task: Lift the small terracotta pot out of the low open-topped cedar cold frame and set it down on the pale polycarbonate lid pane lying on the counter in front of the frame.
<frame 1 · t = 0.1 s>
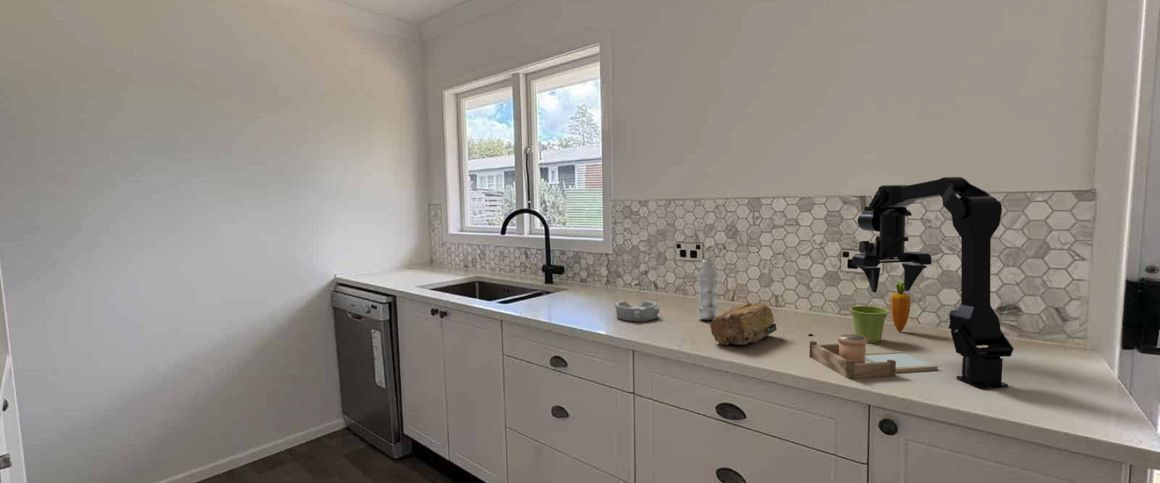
hand: (890, 291, 137), 15 cm above the worktop, fingers open, 9 cm apart
terracotta pot: (851, 365, 123), on the worktop
cold frame: (849, 365, 123), on the worktop
plant pot: (868, 340, 144), on the worktop
lid pane: (896, 362, 124), on the worktop
carrot: (899, 332, 151), on the worktop
dish: (637, 318, 177), on the worktop
petrified wood: (740, 340, 147), on the worktop
plastic bottle: (707, 320, 171), on the worktop
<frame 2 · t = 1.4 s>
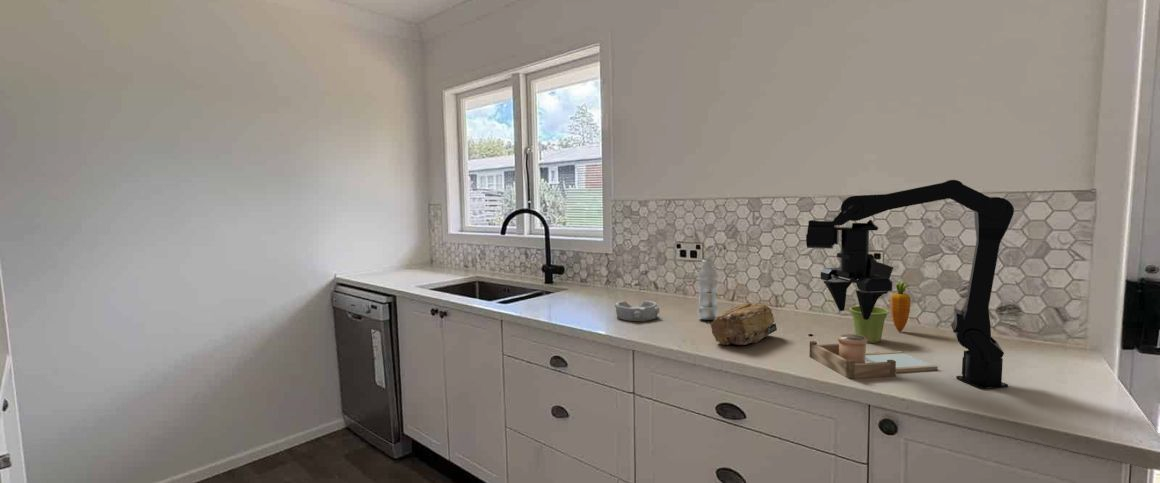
hand: (853, 314, 122), 12 cm above the worktop, fingers open, 9 cm apart
nothing on the worktop moved.
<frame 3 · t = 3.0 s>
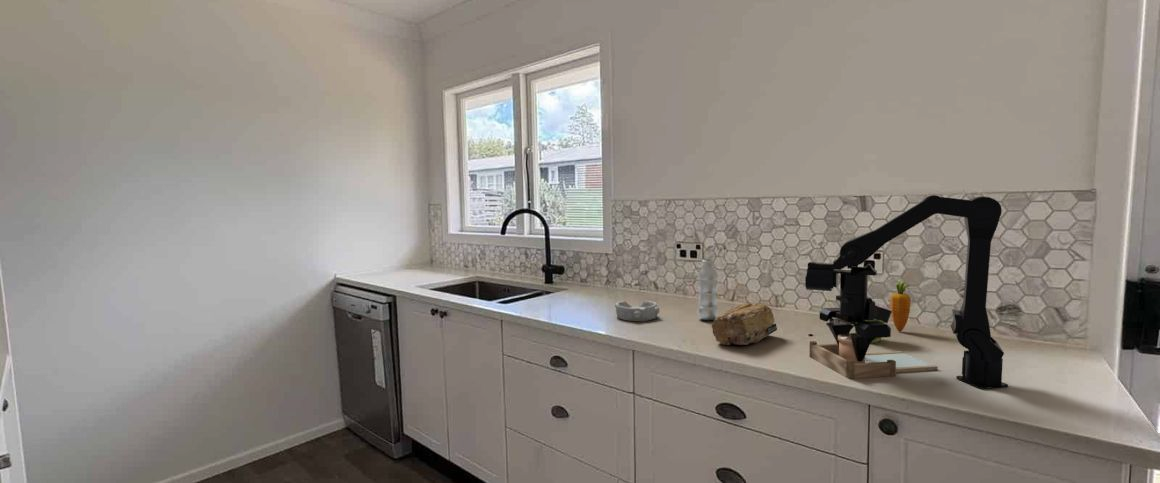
hand: (852, 357, 123), 2 cm above the worktop, fingers closed on terracotta pot, 6 cm apart
terracotta pot: (851, 365, 123), on the worktop, touching gripper
everything else where it was.
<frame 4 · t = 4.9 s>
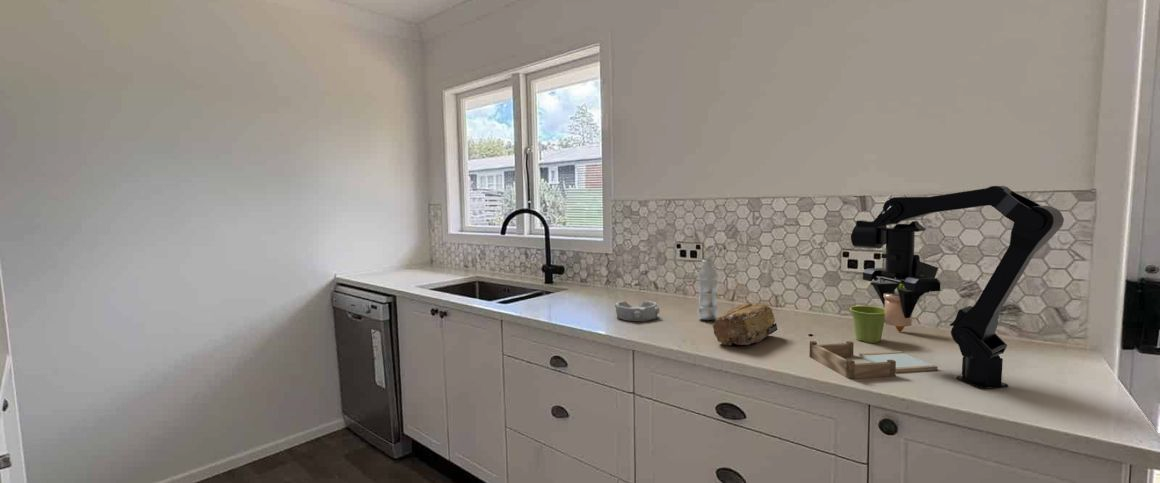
hand: (898, 315, 123), 12 cm above the worktop, fingers closed on terracotta pot, 6 cm apart
terracotta pot: (897, 323, 123), point 10 cm above the worktop, touching gripper
everything else where it was.
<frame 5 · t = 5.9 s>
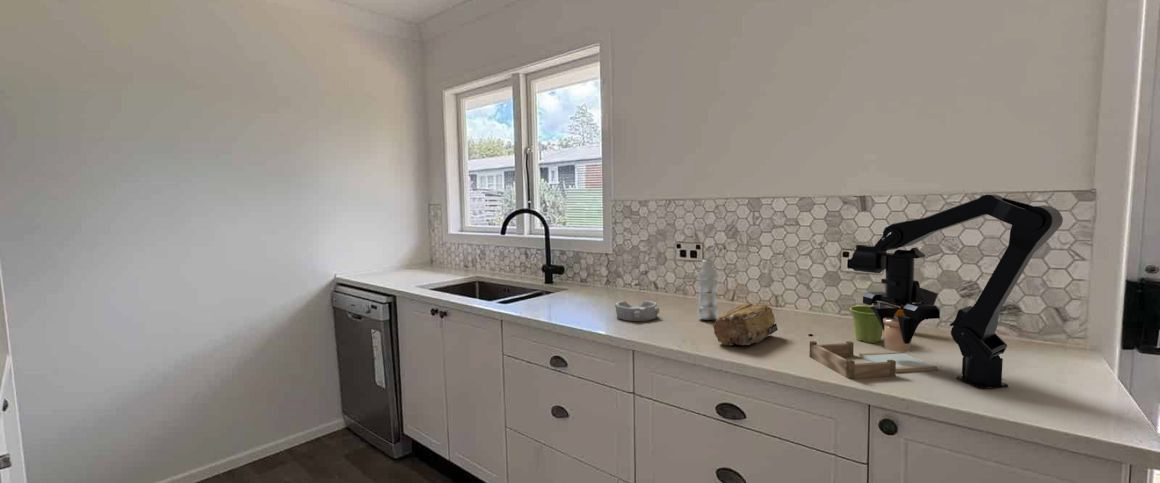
hand: (897, 340, 124), 6 cm above the worktop, fingers closed on terracotta pot, 6 cm apart
terracotta pot: (897, 348, 124), point 4 cm above the worktop, touching gripper
everything else where it was.
when the fingers open (3 cm above the worktop, at t = 6.8 s): terracotta pot stays where it is, resting on lid pane.
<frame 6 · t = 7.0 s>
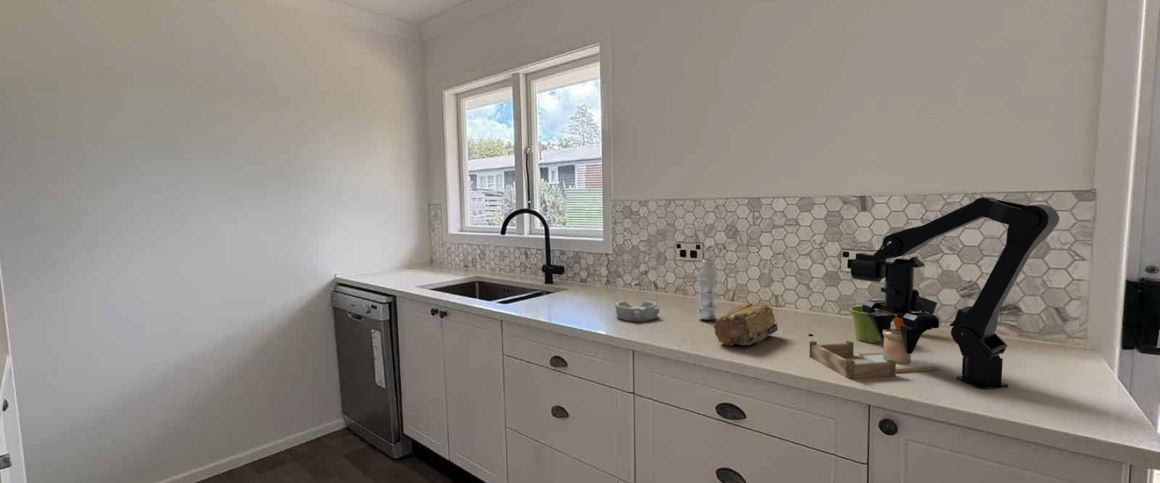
hand: (897, 348, 124), 3 cm above the worktop, fingers open, 8 cm apart
terracotta pot: (896, 360, 124), point 1 cm above the worktop, touching lid pane
everything else where it was.
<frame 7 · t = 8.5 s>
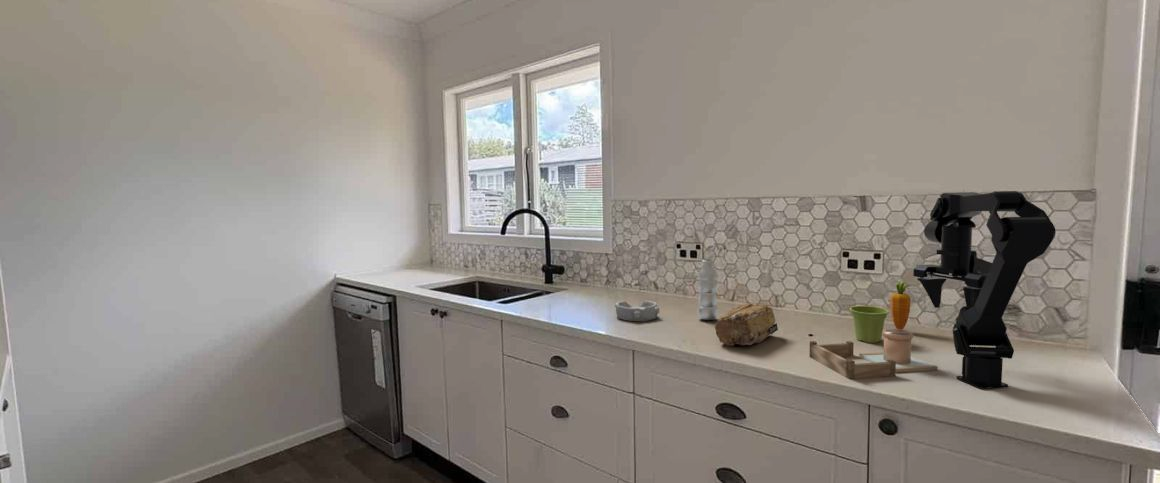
hand: (953, 311, 122), 12 cm above the worktop, fingers open, 9 cm apart
nothing on the worktop moved.
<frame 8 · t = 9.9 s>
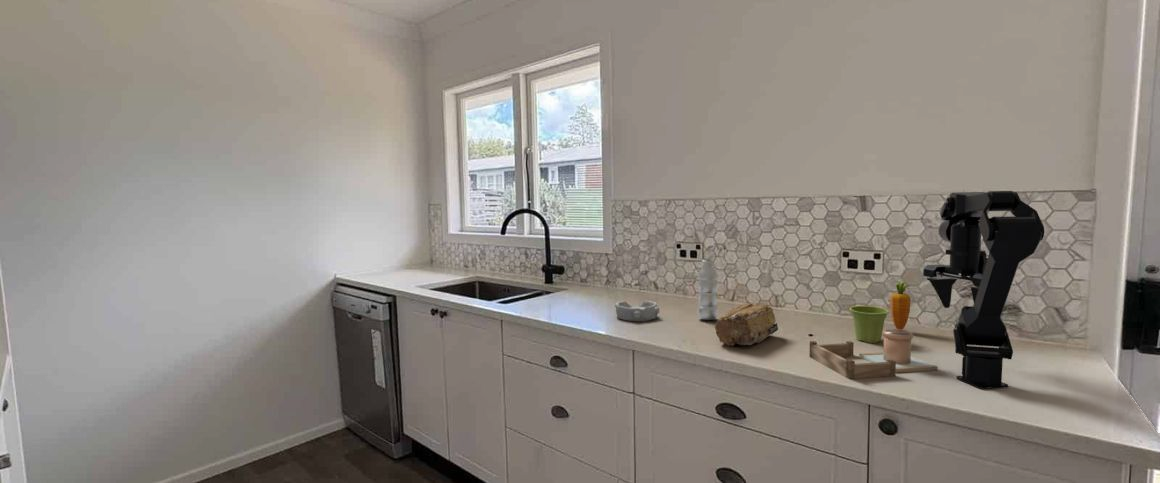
hand: (962, 311, 122), 12 cm above the worktop, fingers open, 9 cm apart
nothing on the worktop moved.
at the end: terracotta pot inside the target area (0.0 cm from its centre), point 0.6 cm above the worktop; terracotta pot tilted 0°; the gripper is holding nothing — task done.
